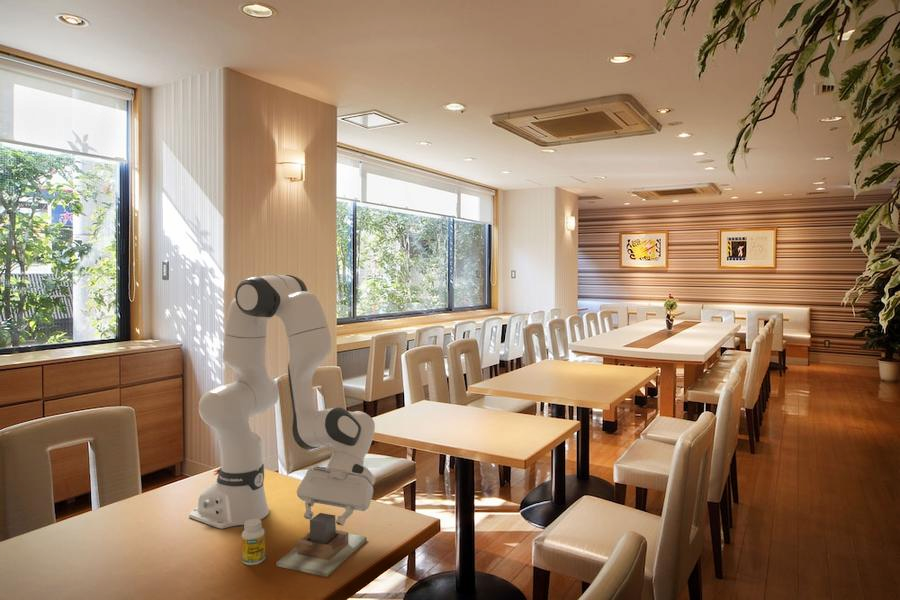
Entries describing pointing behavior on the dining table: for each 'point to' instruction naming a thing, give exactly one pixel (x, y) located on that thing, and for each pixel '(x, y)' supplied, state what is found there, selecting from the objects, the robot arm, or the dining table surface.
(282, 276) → the robot arm
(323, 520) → the plug block
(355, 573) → the dining table surface
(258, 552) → the supplement bottle
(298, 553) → the socket holder
